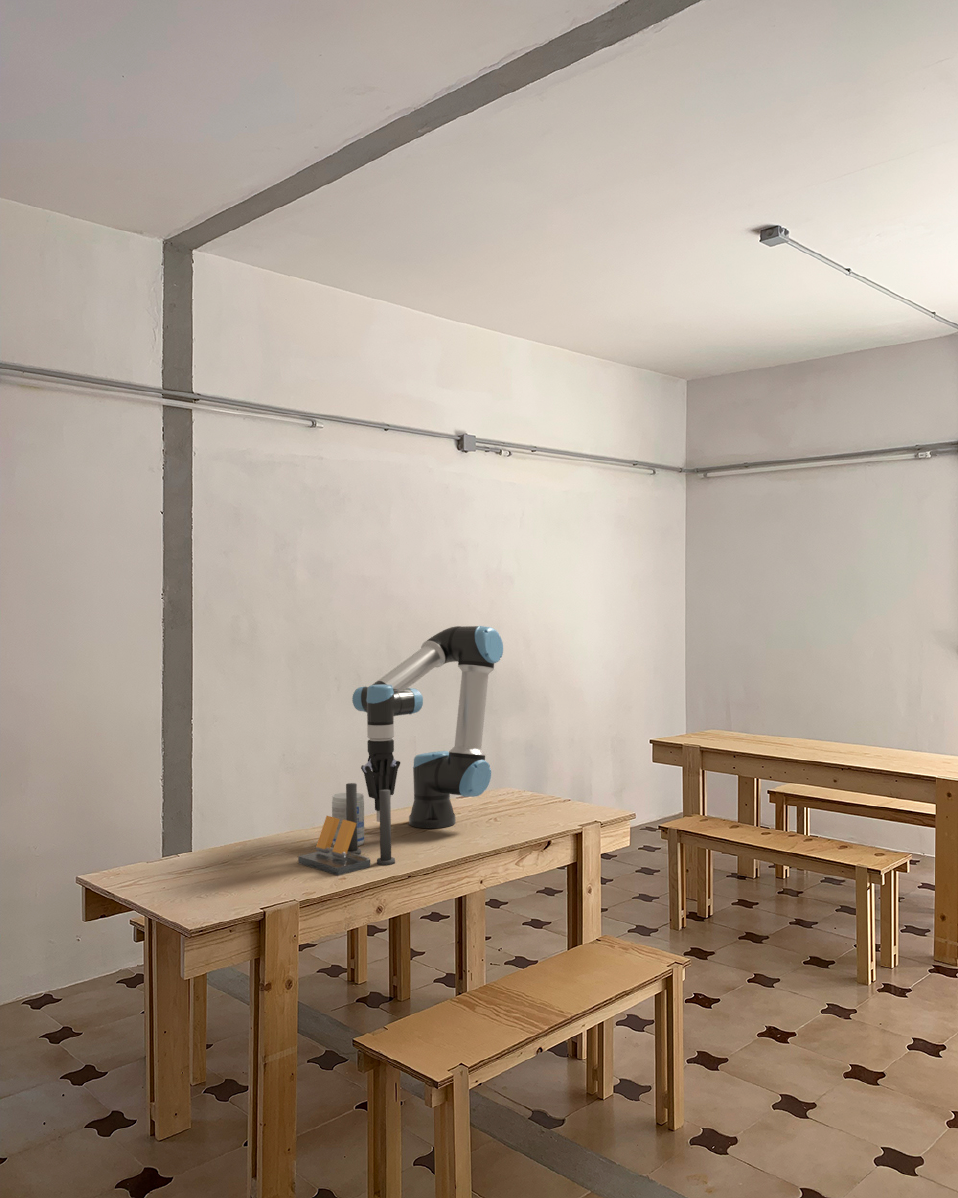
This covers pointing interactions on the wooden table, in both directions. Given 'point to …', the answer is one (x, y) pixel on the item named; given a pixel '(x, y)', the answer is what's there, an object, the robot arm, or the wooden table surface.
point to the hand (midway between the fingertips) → (381, 821)
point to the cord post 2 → (385, 829)
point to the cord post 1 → (352, 814)
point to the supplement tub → (340, 813)
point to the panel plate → (334, 862)
